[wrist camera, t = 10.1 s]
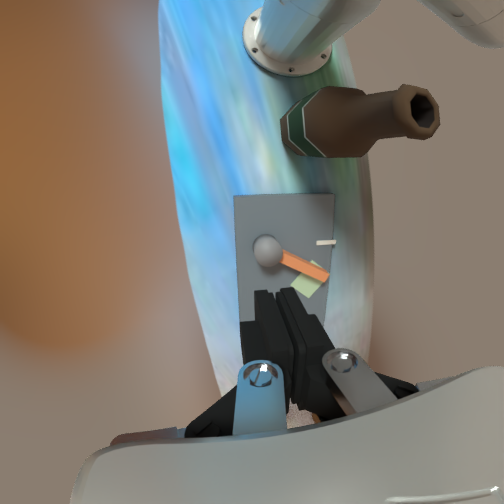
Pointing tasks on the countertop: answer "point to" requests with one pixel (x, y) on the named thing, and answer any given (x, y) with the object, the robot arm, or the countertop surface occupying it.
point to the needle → (284, 257)
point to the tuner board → (284, 246)
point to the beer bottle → (357, 120)
